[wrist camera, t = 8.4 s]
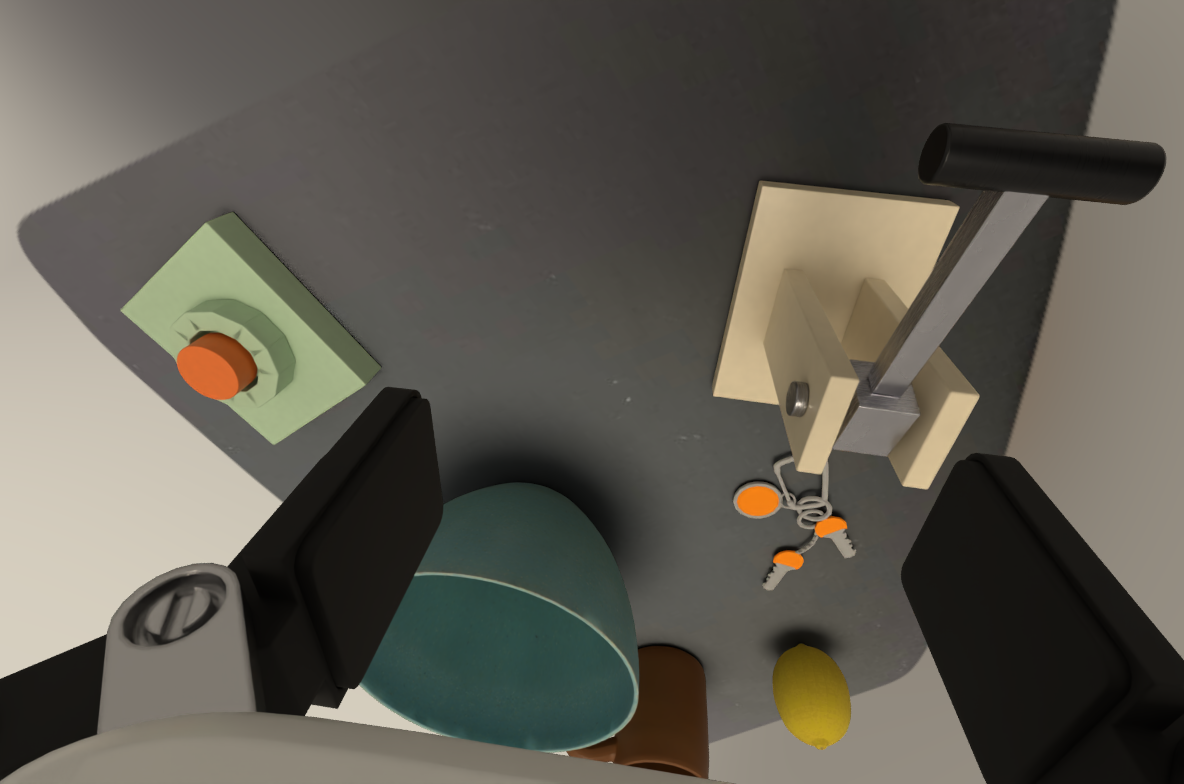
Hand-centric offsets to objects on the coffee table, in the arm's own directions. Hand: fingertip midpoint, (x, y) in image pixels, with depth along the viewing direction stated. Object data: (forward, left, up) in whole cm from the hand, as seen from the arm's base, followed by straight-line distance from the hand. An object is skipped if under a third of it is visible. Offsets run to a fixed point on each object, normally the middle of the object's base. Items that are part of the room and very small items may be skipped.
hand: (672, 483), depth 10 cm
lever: (+5, +6, -11) cm, 14 cm away
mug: (+34, -24, -22) cm, 47 cm away
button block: (-7, -27, -21) cm, 35 cm away
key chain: (+24, -4, -21) cm, 32 cm away
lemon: (+37, -10, -22) cm, 44 cm away
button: (-7, -27, -18) cm, 33 cm away
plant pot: (+15, -22, -22) cm, 34 cm away
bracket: (+9, +3, -21) cm, 23 cm away
